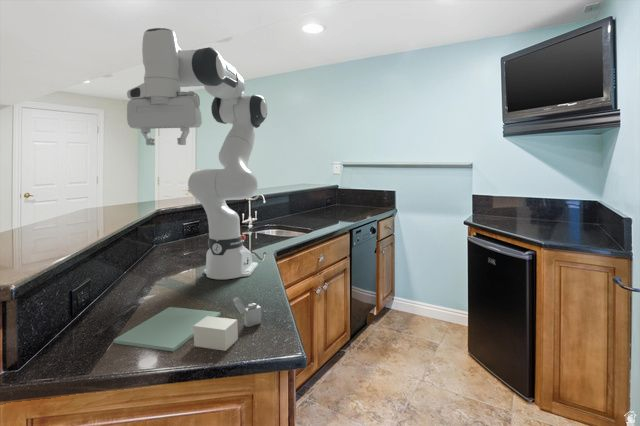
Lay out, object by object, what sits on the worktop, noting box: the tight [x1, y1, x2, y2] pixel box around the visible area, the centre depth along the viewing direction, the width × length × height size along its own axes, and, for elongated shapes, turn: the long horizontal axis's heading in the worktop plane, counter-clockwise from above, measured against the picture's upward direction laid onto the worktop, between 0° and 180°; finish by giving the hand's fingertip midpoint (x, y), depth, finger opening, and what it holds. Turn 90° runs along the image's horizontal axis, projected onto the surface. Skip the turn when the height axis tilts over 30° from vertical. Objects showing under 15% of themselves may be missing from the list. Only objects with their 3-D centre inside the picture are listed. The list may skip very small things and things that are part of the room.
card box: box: [193, 316, 239, 352], centre depth 83 cm, size 6×8×5 cm
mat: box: [113, 306, 221, 353], centre depth 91 cm, size 20×16×1 cm
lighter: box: [232, 296, 262, 328], centre depth 92 cm, size 7×2×8 cm, turn 127°
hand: (166, 145), depth 99 cm, fingers open, 8 cm apart
